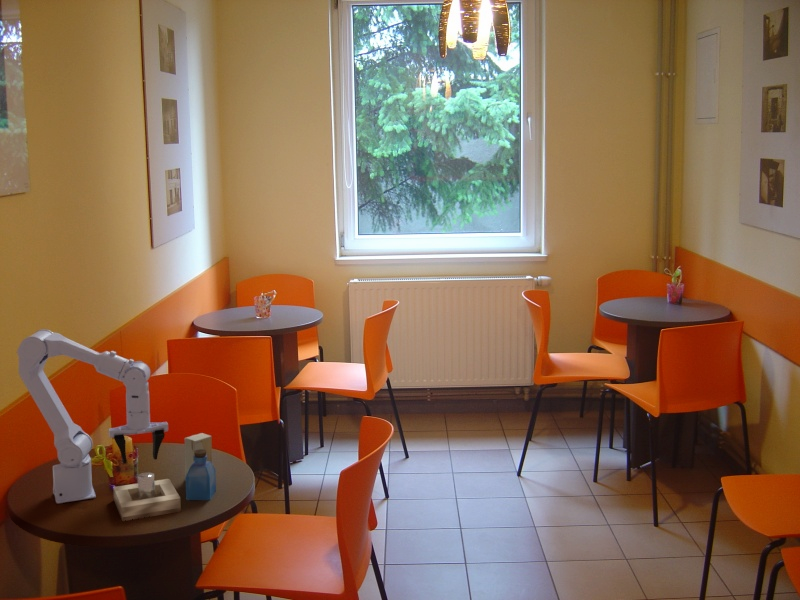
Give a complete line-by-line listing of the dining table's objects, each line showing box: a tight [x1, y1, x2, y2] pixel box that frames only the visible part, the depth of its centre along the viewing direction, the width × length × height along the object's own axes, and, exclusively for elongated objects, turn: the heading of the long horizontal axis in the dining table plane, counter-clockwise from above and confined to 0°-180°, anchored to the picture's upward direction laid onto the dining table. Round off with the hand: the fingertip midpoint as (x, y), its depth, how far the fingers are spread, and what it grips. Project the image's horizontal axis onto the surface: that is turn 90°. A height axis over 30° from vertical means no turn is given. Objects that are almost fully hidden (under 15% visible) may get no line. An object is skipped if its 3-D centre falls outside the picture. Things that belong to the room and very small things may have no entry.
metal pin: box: [137, 472, 156, 500], centre depth 215 cm, size 4×4×7 cm
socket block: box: [112, 478, 182, 522], centre depth 215 cm, size 14×14×4 cm
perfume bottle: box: [185, 449, 217, 501], centre depth 222 cm, size 6×6×12 cm
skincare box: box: [184, 432, 213, 482], centre depth 232 cm, size 6×4×12 cm
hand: (139, 460), depth 221 cm, fingers open, 7 cm apart
